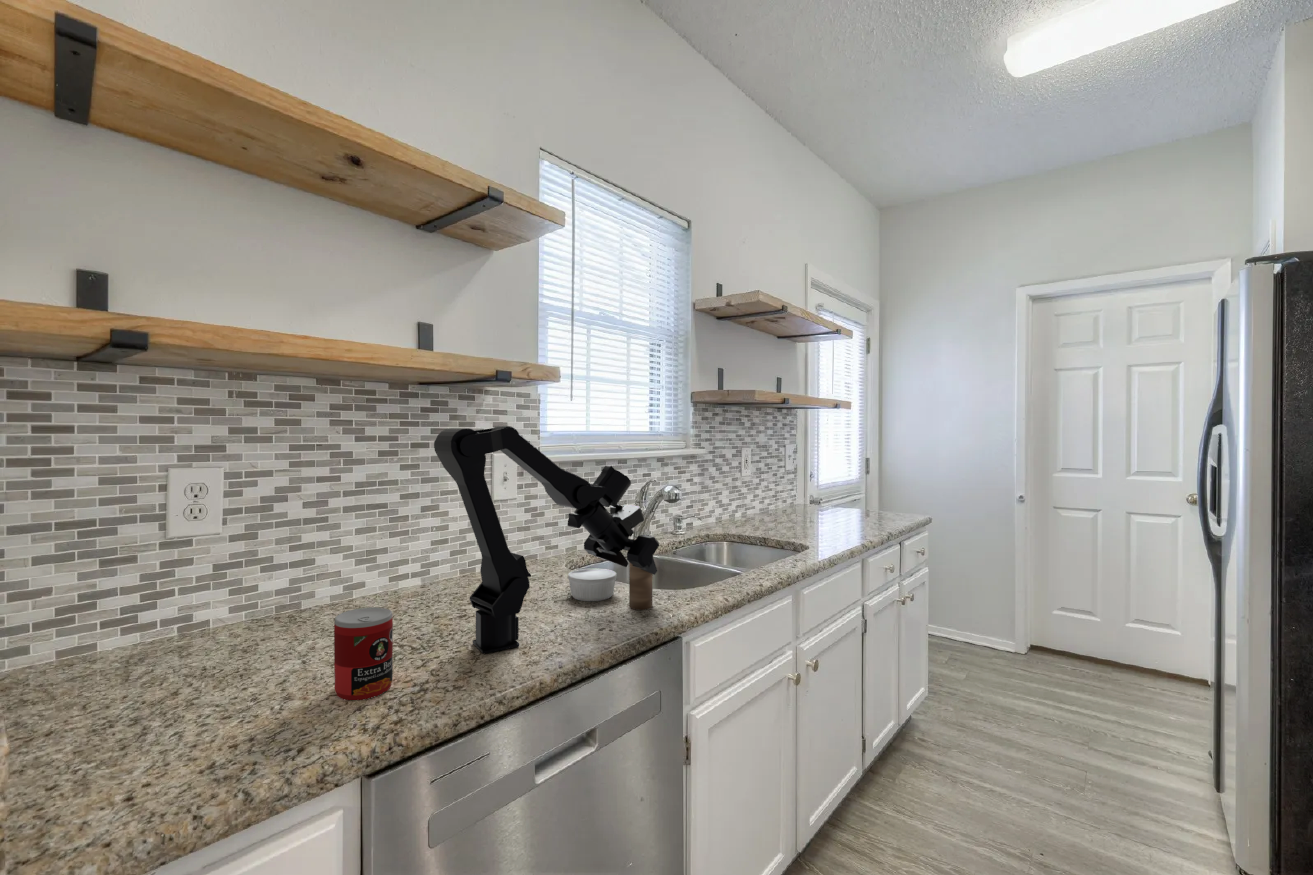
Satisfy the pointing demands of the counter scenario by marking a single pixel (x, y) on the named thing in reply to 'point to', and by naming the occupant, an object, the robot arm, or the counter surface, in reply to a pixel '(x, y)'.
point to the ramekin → (592, 584)
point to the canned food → (363, 653)
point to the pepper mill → (640, 588)
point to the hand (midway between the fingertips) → (640, 568)
